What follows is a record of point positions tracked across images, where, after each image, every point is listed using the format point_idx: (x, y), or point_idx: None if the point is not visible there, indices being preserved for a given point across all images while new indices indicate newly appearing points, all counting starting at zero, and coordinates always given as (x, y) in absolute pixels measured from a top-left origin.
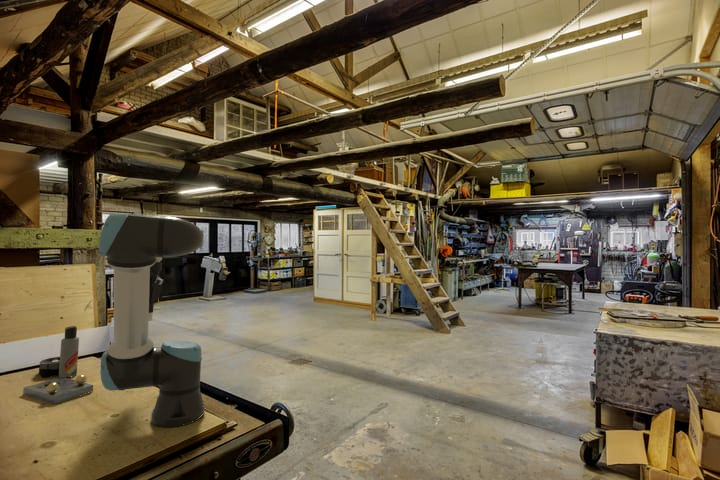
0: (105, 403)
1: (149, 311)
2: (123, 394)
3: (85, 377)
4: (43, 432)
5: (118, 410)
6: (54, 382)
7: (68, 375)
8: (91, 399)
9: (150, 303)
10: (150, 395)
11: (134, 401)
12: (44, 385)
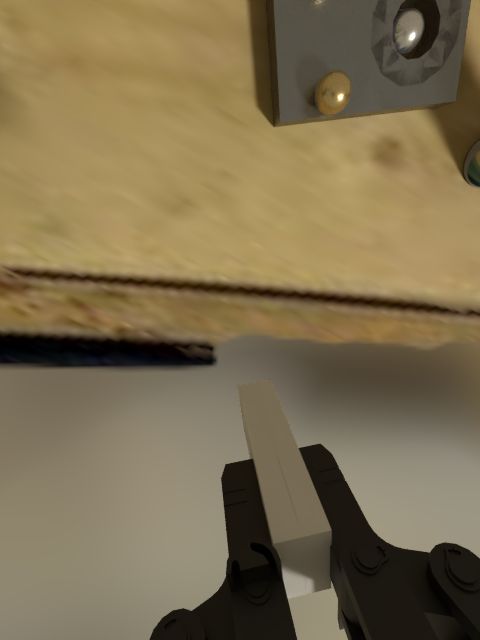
0: (126, 87)
1: (230, 477)
2: (166, 176)
3: (323, 102)
4: None
5: (18, 74)
6: (413, 28)
7: (474, 151)
8: (205, 80)
9: (233, 597)
10: (87, 224)
11: (69, 160)
12: (434, 5)
